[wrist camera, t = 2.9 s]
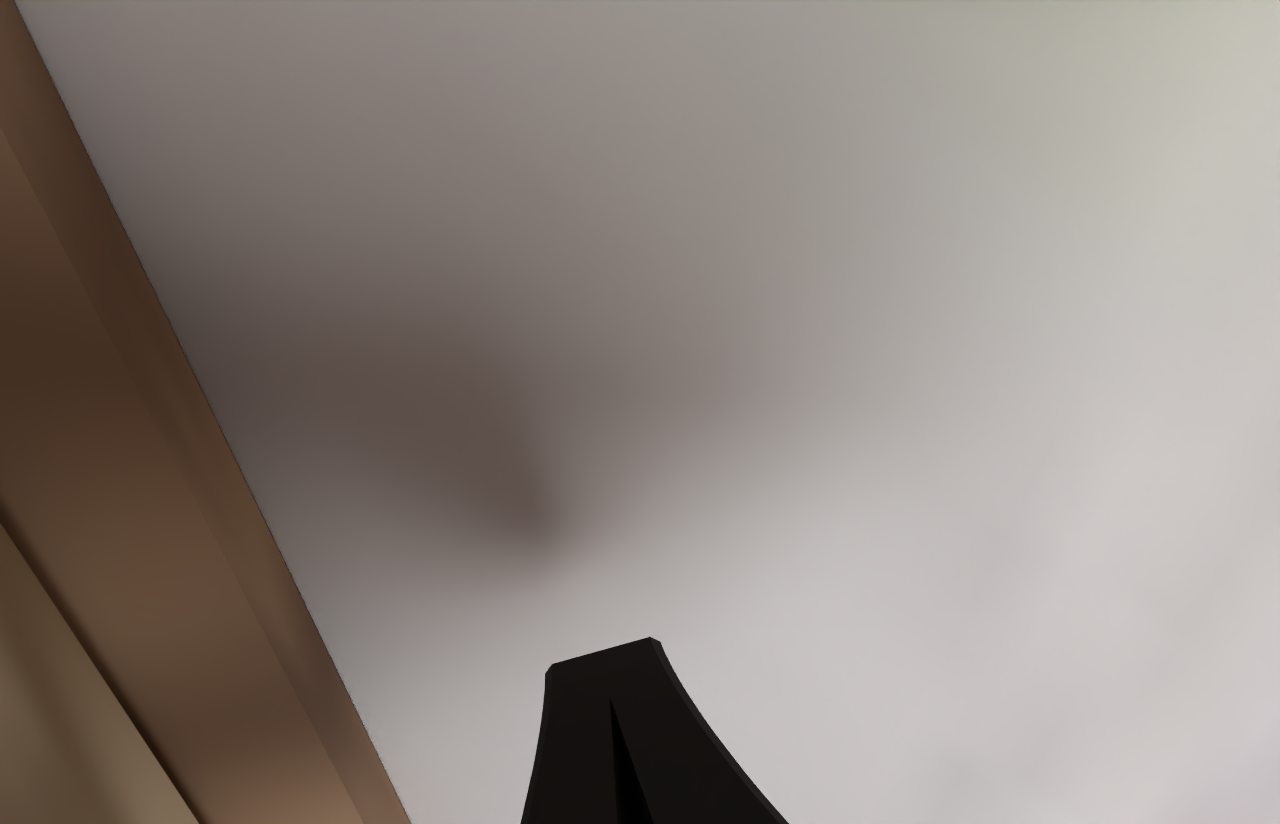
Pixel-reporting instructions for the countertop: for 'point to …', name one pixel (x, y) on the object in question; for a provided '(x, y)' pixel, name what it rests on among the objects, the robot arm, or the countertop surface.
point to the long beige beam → (66, 723)
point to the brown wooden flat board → (151, 502)
